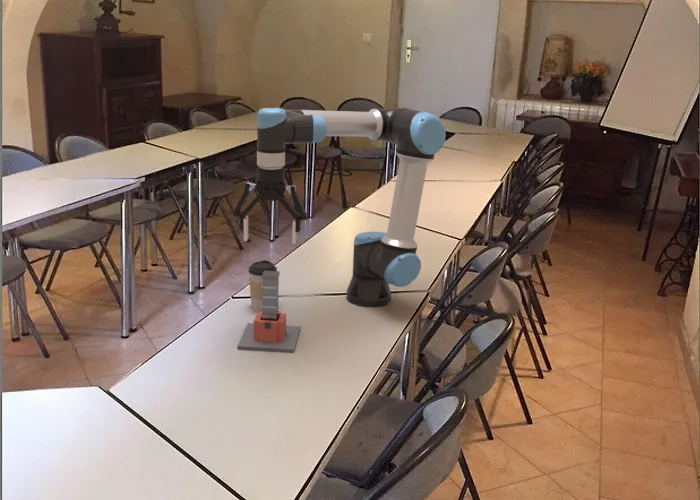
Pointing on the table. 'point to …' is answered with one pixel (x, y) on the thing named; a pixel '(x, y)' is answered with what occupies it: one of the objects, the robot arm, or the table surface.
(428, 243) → the table surface
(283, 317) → the stand
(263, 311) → the column
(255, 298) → the coffee cup
